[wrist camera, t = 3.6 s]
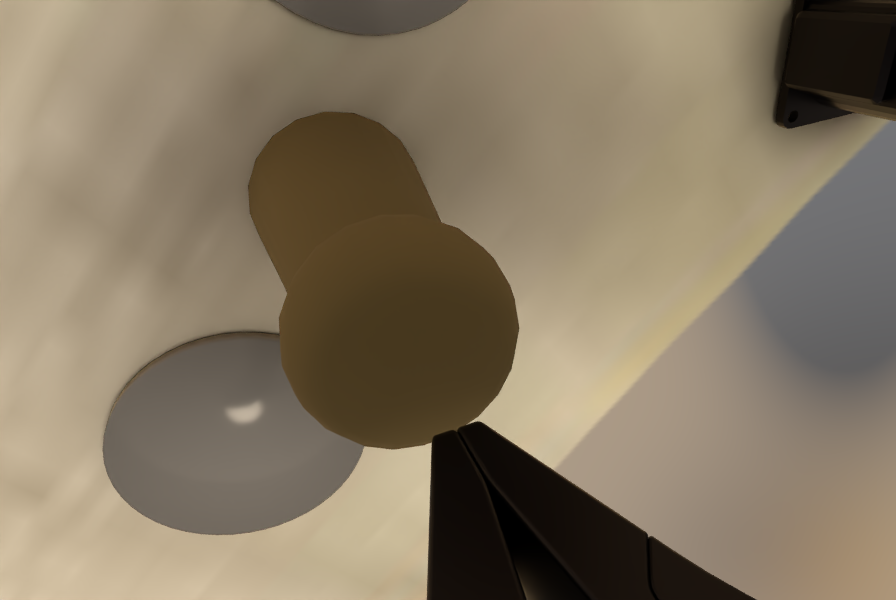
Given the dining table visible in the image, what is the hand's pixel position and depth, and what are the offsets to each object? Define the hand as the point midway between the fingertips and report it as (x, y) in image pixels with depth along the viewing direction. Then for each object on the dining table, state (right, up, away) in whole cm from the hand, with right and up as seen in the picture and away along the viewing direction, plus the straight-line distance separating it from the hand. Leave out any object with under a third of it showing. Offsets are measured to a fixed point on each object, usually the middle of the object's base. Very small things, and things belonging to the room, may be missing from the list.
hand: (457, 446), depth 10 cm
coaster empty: (-9, -3, +14) cm, 17 cm away
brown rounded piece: (-4, +6, +11) cm, 13 cm away
